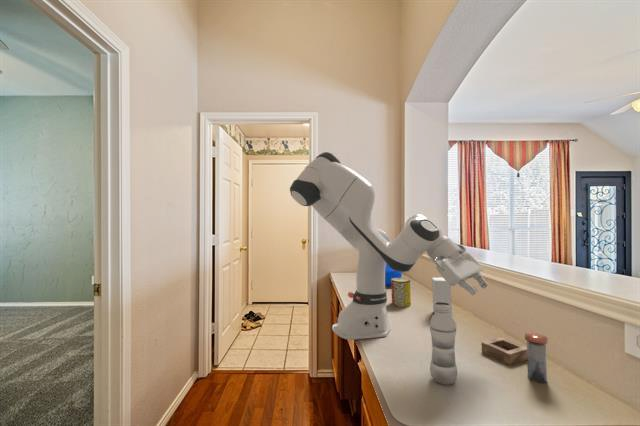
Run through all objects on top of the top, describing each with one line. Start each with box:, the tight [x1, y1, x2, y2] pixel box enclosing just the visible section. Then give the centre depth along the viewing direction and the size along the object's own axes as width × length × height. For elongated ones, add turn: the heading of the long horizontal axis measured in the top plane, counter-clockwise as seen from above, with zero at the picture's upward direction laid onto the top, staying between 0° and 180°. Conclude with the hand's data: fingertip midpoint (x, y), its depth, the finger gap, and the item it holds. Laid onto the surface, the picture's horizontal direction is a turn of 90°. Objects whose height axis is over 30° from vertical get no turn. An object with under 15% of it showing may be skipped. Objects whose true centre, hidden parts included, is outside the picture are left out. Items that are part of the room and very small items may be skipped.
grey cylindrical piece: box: [524, 332, 549, 384], centre depth 76 cm, size 5×5×11 cm
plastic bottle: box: [429, 302, 459, 386], centre depth 75 cm, size 6×7×20 cm
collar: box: [481, 336, 527, 366], centre depth 89 cm, size 9×9×3 cm
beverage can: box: [390, 277, 412, 308], centre depth 142 cm, size 9×9×12 cm
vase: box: [385, 263, 403, 287], centre depth 185 cm, size 18×18×19 cm
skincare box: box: [431, 277, 453, 317], centre depth 126 cm, size 8×7×16 cm
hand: (481, 290), depth 85 cm, fingers open, 8 cm apart
